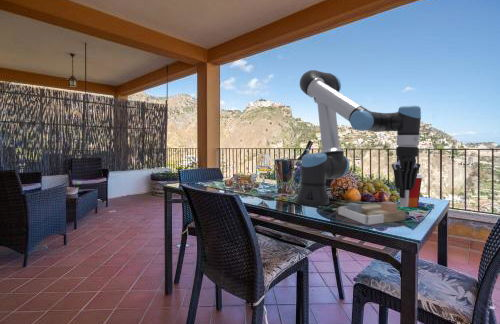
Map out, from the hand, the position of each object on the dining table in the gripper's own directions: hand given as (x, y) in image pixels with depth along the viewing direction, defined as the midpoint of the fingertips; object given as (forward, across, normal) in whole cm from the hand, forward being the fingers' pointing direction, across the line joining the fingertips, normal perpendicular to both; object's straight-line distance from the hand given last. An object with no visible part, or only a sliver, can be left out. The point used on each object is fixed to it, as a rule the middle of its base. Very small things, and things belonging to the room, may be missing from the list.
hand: (403, 205), depth 107 cm
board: (+4, -9, +4) cm, 11 cm away
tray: (+4, -19, +4) cm, 20 cm away
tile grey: (+2, -16, +7) cm, 18 cm away
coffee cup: (+4, +19, +12) cm, 23 cm away
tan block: (+1, -8, 0) cm, 8 cm away
